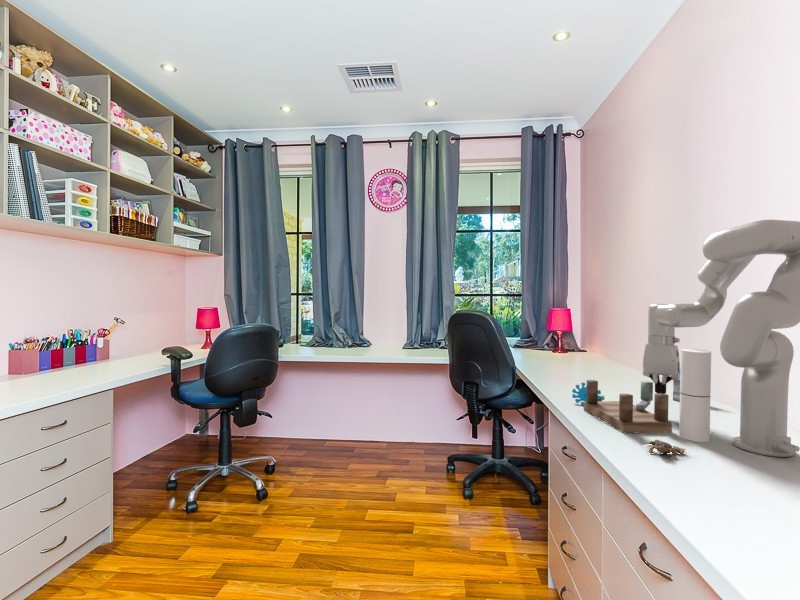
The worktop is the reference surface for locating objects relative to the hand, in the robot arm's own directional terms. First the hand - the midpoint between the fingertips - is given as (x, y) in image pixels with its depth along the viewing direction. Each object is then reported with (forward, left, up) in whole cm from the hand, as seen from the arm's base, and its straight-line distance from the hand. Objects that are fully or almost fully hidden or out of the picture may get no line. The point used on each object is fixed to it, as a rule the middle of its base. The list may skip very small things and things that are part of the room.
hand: (660, 395), depth 142 cm
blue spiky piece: (+16, +17, -7) cm, 24 cm away
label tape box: (+17, -23, -7) cm, 29 cm away
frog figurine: (-31, +20, -8) cm, 38 cm away
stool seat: (-4, +15, -7) cm, 17 cm away
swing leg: (0, +6, -4) cm, 7 cm away
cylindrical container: (-21, +4, -7) cm, 23 cm away
